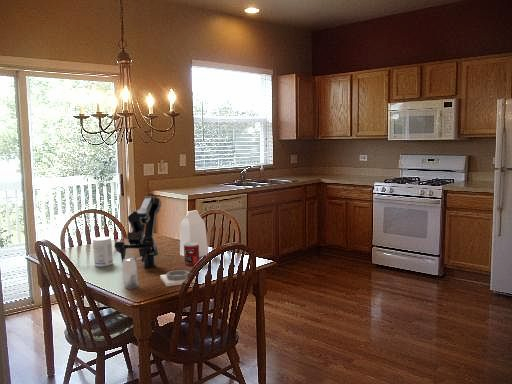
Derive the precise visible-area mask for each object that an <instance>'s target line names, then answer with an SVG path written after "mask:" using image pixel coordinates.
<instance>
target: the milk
mask: <svg viewBox="0 0 512 384" xmlns="http://www.w3.org/2000/svg"><path fill="white" fill-rule="evenodd" d="M179 228H180V229H179V234H180V235H179V255H180V256H181V255H182V256H181V257H184V244H185V243H189V242H196V243H198V244H199V258H201V257H204V255H206V254H207V253H208V254H209V249H208V248H209V247H208V238H207V237H208V236H207V229H206V222H205V220H204V219H203V218H202V217H201V215H200V214H199V211H198V209H196V210H190V211H189V210H188V211H186V215H185V217H184V218H183V219H182V221H181V222H180V225H179ZM206 256H207V255H206Z"/></svg>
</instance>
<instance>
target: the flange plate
mask: <svg viewBox="0 0 512 384" xmlns="http://www.w3.org/2000/svg"><path fill="white" fill-rule="evenodd" d="M188 273H190V272H189V271H188V270H185V269H183V270H182V269H177V270H170V271H167V272H166V274H160V275H159V276H160V277H159V278H160V280H161V281H162V283H163V284H164V285H165V286H166V287H172V286H178V285H179V286H180V285H183V284H182V283H183V281H184V280H185V278H186V277H187V275H188ZM193 282H194V280H193V281H192V283H191V284H194V283H195V282H194V283H193Z"/></svg>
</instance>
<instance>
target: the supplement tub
mask: <svg viewBox="0 0 512 384" xmlns="http://www.w3.org/2000/svg"><path fill="white" fill-rule="evenodd" d="M112 245H113V244H112V238H111V236H97V237H95V238H93V239H92V246H93V247H92V248H93V260H94V265H95V266H96V267H97V268H98V267H99V268H100V267H101V268H102V267H103V268H104V267H108V266H111V265H113V263H114V259H113V246H112Z"/></svg>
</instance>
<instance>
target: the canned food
mask: <svg viewBox="0 0 512 384" xmlns="http://www.w3.org/2000/svg"><path fill="white" fill-rule="evenodd" d="M183 257H184V260H183V261H184V264H185V265H186V266H196V265H195V264H196V263H197V262H198V261H199V262H200V257H199V244H198V243H196V242H189V243H185V244H184V256H183Z"/></svg>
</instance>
